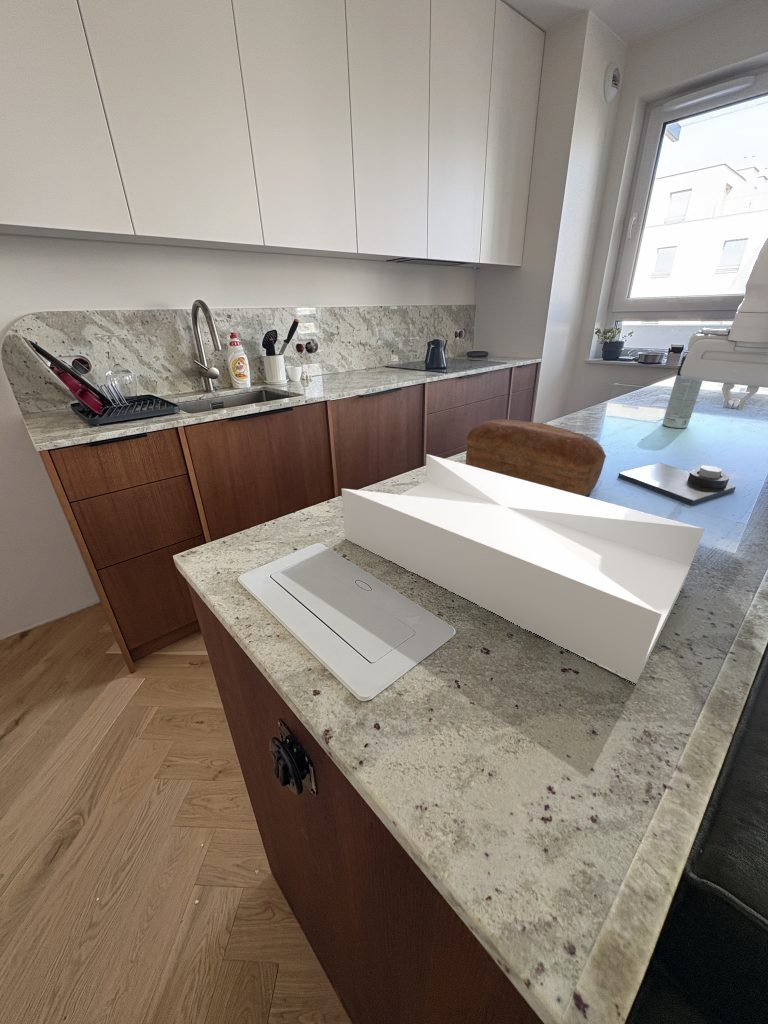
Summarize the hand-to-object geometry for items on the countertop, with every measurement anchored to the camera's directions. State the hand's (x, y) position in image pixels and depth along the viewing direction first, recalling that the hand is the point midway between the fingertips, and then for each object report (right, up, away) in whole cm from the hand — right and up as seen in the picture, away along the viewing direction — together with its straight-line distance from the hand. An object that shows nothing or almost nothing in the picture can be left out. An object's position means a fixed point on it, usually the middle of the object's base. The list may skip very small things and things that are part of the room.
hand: (732, 408), depth 80 cm
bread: (-35, -13, +12) cm, 40 cm away
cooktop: (-5, -14, +9) cm, 17 cm away
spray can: (+22, +7, +48) cm, 54 cm away
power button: (0, -12, +6) cm, 14 cm away
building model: (-50, -28, -16) cm, 59 cm away
